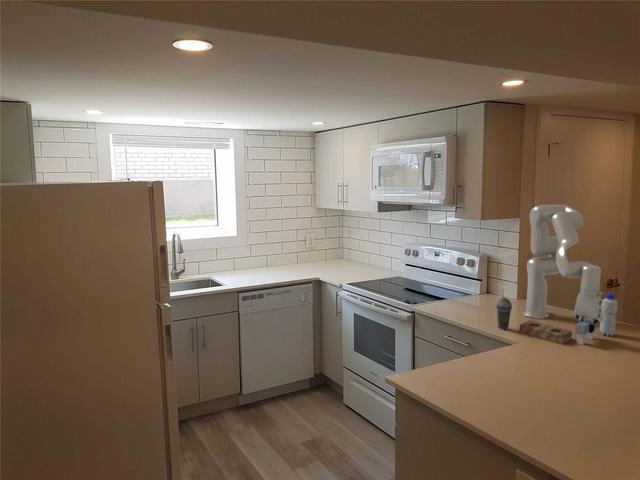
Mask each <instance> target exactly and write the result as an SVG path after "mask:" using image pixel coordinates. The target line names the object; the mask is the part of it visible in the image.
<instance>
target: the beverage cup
mask: <svg viewBox="0 0 640 480" xmlns="http://www.w3.org/2000/svg"><path fill="white" fill-rule="evenodd" d="M501 294H502V297H501V298H499V299H498V300H497V303H496V305H495V306H496V314H497V329H498V328H500V329H508V330H509V326H510V325H509V324H510V318H511V313H512V312H511V311H512V308H513V307H512V306H513V305H512V302H511V300H510V299H508V298H507V297H505V296H504V288H502V289H501ZM500 329H499V330H500Z"/></svg>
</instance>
